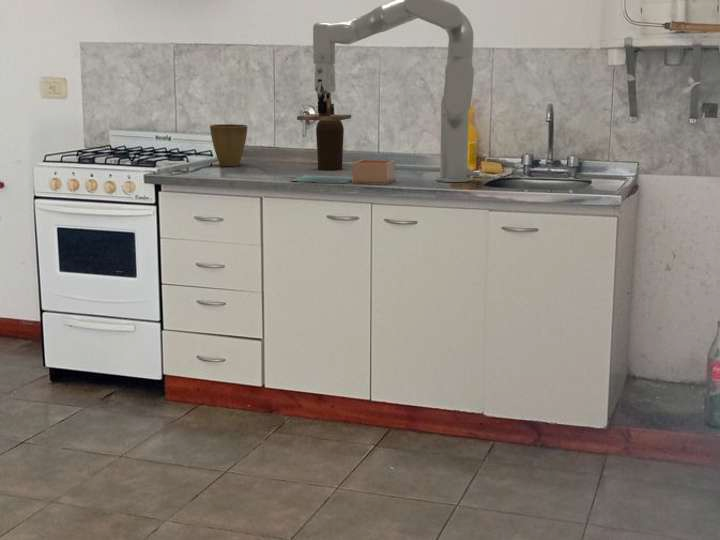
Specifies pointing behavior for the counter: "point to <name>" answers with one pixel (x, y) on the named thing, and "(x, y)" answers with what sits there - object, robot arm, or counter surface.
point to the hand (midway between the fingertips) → (324, 112)
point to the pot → (374, 171)
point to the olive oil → (330, 144)
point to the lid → (324, 115)
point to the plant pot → (228, 142)
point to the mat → (323, 179)
